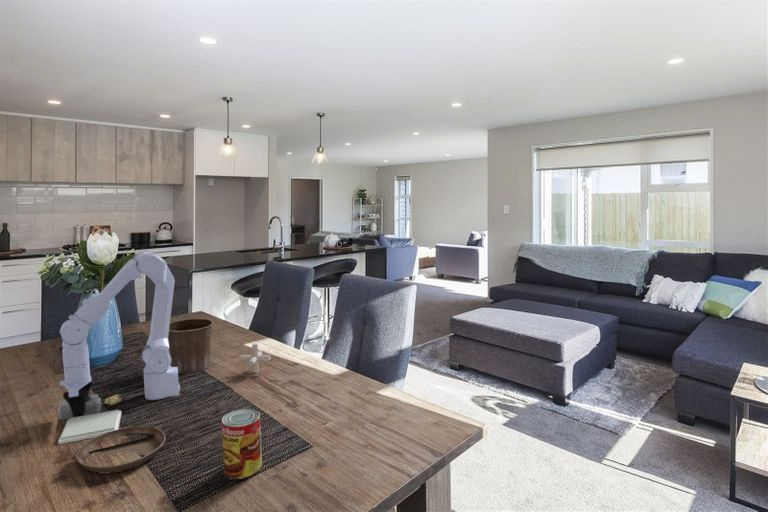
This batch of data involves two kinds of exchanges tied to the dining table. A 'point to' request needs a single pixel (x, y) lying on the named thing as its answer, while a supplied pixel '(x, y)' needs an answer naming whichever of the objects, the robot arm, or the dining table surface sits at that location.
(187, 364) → the plant pot
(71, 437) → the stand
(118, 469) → the plant saucer
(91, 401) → the block
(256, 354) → the pipe connector
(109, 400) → the yellow rounded lump
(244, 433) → the canned food
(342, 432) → the dining table surface
